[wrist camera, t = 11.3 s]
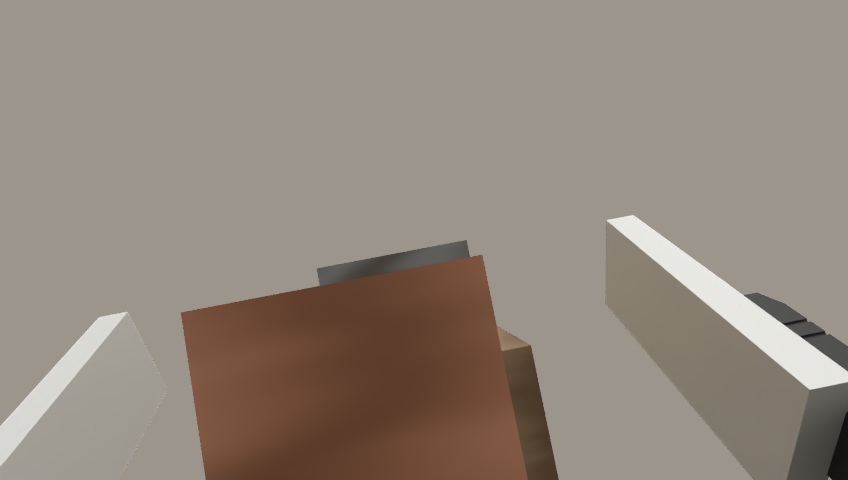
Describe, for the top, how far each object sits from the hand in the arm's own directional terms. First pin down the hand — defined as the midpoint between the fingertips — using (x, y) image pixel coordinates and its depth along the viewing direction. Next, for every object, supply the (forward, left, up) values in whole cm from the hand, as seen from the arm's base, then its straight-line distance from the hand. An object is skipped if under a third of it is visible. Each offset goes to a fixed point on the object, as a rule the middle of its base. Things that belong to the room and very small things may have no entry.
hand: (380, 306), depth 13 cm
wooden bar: (0, +2, -3) cm, 4 cm away
